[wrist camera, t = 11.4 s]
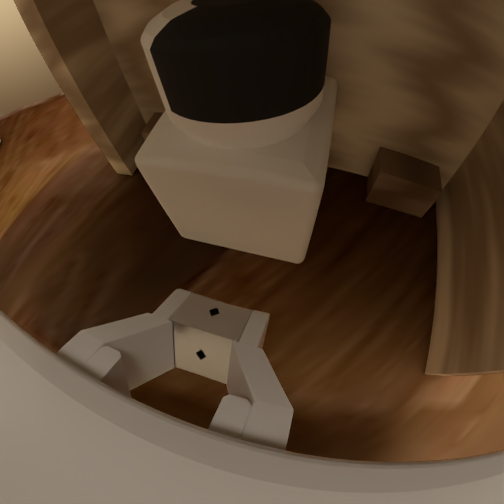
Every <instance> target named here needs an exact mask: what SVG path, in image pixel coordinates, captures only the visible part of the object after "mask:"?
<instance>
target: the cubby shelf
mask: <svg viewBox="0 0 504 504" xmlns="http://www.w3.org/2000/svg"><path fill="white" fill-rule="evenodd" d="M177 1H179V0H14V2H15V4H16V6H17V9H18V11H19V13H20V15H21V17H22V19H23V21H24V23H25V25H26V27H27V29H28V31H29V32H30V35H31V36H32V38H33V40H34V42H35V44H36V46H37V48H38V50H39V51H40V53H41V55H42V57H43V59H44V60H45V62H46V64H47V65H48V67H49V69H50V71H51V73H52V74H53V76H54V78H55V79H56V81H57V83H58V84H59V86H60V88H61V89H62V91H63V93H64V94H65V96H66V98H67V99H68V101H69V102H70V104H71V106H72V107H73V109H74V110H75V112H76V113H77V115H78V117H79V118H80V120H81V121H82V123H83V124H84V126H85V127H86V129H87V130H88V132H89V133H90V135H91V136H92V138H93V139H94V141H95V142H96V144H97V145H98V147H99V148H100V150H101V151H102V153H103V154H104V155H105V157H106V158H107V160H108V161H109V163H110V164H111V165H112V167H113V168H114V170H115V171H116V173H118V174H126V175H133V173H134V172H135V170H136V168H137V166H136V163H135V156H136V155H137V153H138V151H139V150H140V148H141V146H142V145H143V143H144V142H145V140H146V138H147V137H148V135H149V134H150V132H151V131H152V129H153V128H154V126H155V125H156V123H157V122H158V120H159V119H160V117H161V116H162V114H163V113H164V112H165V107H164V104H163V102H162V99H161V96H160V94H159V91H158V88H157V86H156V83H155V80H154V78H153V75H152V72H151V69H150V67H149V64H148V61H147V58H146V56H145V53H144V50H143V47H142V44H141V41H140V40H141V36H142V34H143V31H144V29H145V27H146V26H147V24H148V23H149V22H150V20H151V19H153V18H154V17H155V16H156V15H158V14H159V13H160V12H162V11H163V10H164V9H166V8H167V7H168V6H170V5H172V4H173V3H175V2H177ZM313 1H315V2H317V3H318V4H320V5H321V6H322V7H323V8H324V10H325V11H326V12H327V13H328V15H329V16H330V18H331V28H330V39H329V49H328V58H327V67H326V76H331V77H333V78H335V79H336V80H337V84H338V86H337V96H336V105H335V114H334V122H333V130H332V137H331V144H330V151H329V158H328V165H327V167H332V168H336V169H340V170H344V171H348V172H352V173H355V174H359V175H363V176H366V177H367V191H366V202H370V203H374V204H377V205H381V206H384V207H388V208H391V209H395V210H398V211H401V212H404V213H408V214H411V215H414V216H417V217H420V218H422V217H423V215H424V214H425V213H426V212H427V211H428V210H429V208H430V207H431V206H432V205H433V204H434V202H435V201H436V213H437V282H436V297H435V309H434V318H433V326H432V334H431V341H430V347H429V353H428V359H427V364H426V369H425V374H428V375H437V376H471V375H488V374H500V373H504V0H313Z"/></svg>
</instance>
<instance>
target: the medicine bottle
mask: <svg viewBox="0 0 504 504" xmlns="http://www.w3.org/2000/svg"><path fill="white" fill-rule="evenodd" d="M330 28H331V18H330V16H329V15H328V13H327V12H326V11H325V10H324V8H323V7H322V6H321V5H320V4H318V3H317V2H315V1H313V0H179V1H177V2H175V3H173V4H172V5H170V6H168V7H167V8H166V9H164V10H163V11H162V12H160V13H159V14H158V15H156V16H155V17H154V18H153V19H151V20H150V22H149V23H148V24H147V26H146V27H145V29H144V31H143V34H142V36H141V40H140V41H141V44H142V47H143V50H144V53H145V56H146V58H147V61H148V64H149V67H150V69H151V72H152V75H153V78H154V80H155V83H156V86H157V88H158V91H159V94H160V96H161V99H162V102H163V104H164V107H165V112H164V113H163V114H162V116H161V117H160V119H159V120H158V122H157V123H156V125H155V126H154V128H153V129H152V131H151V132H150V134H149V135H148V137H147V138H146V140H145V142H144V143H143V145H142V146H141V148H140V150H139V151H138V153H137V155H136V156H135V163H136V166H137V167H138V169H139V171H140V172H141V174H142V176H143V177H144V179H145V180H146V182H147V184H148V185H149V187H150V188H151V190H152V192H153V193H154V195H155V196H156V198H157V199H158V201H159V203H160V204H161V206H162V207H163V209H164V210H165V212H166V213H167V215H168V216H169V218H170V220H171V221H172V223H173V224H174V226H175V227H176V229H177V230H178V232H179V233H180V235H181V236H182V237H184V238H187V239H191V240H196V241H200V242H204V243H209V244H213V245H218V246H222V247H226V248H231V249H235V250H239V251H244V252H248V253H252V254H257V255H261V256H266V257H270V258H274V259H279V260H283V261H287V262H292V263H296V264H298V263H301V262H303V261H304V259H305V256H306V252H307V249H308V245H309V242H310V238H311V235H312V231H313V227H314V224H315V220H316V216H317V212H318V209H319V205H320V201H321V197H322V193H323V189H324V184H325V178H326V171H327V165H328V158H329V151H330V144H331V137H332V130H333V122H334V114H335V105H336V96H337V86H338V84H337V80H336V79H335V78H333V77H331V76H326V67H327V58H328V49H329V39H330Z"/></svg>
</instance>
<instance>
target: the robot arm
mask: <svg viewBox="0 0 504 504" xmlns="http://www.w3.org/2000/svg"><path fill="white" fill-rule="evenodd" d="M0 143H1V139H0ZM269 318H270V314H269V313H266V312H261V311H257V310H251V309H247V308H243V307H239V306H235V305H232V304H228V303H224V302H222V301H218V300H215V299H212V298H209V297H206V296H202V295H199V294H196V293H192V292H190V291H186V290H183V289H180V288H179V289H176V290H175V291H174V292H173V293H172V294H171V295H170V296H169V297H168V298H167V299H166V300H165V301H164V302H163V303H162V304H161V305H160V306H159V307H158V308H157V309H156V310H155V311H154V313H153V314H151V313H145V314H141V315H137V316H134V317H130V318H126V319H123V320H119V321H115V322H111V323H107V324H104V325H100V326H96V327H92V328H88V329H84V330H81V331H80V332H79V333H77V334H76V335H75V336H74V337H73V338H72V339H71V340H70V341H68V342H67V343H66V344H65V345H64V346H63V347H62V348H61V349H60V350H59V351H57V352H56V353H54V352H53V351H52V350H50V349H49V348H47V347H46V346H45V345H43V344H42V343H41V342H39V341H38V340H37V339H35V338H34V337H33V336H31V335H30V334H29V333H27V332H26V331H25V330H24V329H22V328H21V327H20V326H19V325H18V324H16V323H15V322H14V321H13V320H12V319H10V318H9V317H8V316H7V315H6V314H5V313H4V312H2V311H1V310H0V504H504V450H501V451H496V452H491V453H487V454H481V455H475V456H469V457H462V458H454V459H445V460H433V461H415V462H379V461H360V460H347V459H338V458H329V457H321V456H314V455H308V454H302V453H296V452H291V451H286V445H287V441H288V436H289V431H290V427H291V422H292V417H293V412H294V409H293V407H292V405H291V404H290V402H289V400H288V398H287V396H286V394H285V392H284V390H283V388H282V386H281V384H280V382H279V380H278V378H277V376H276V374H275V372H274V370H273V368H272V366H271V364H270V362H269V360H268V358H267V356H266V354H265V352H264V350H263V349H262V347H263V344H264V339H265V335H266V331H267V327H268V322H269ZM174 366H175V367H178V368H181V369H184V370H186V371H189V372H193V373H196V374H199V375H202V376H204V377H207V378H210V379H213V380H215V381H218V382H221V383H224V384H226V387H227V391H228V395H227V396H224V397H223V398H222V400H221V403H220V405H219V407H218V409H217V411H216V413H215V415H214V417H213V419H212V422H211V424H210V426H209V428H208V429H205V428H202V427H199V426H196V425H194V424H191V423H188V422H186V421H183V420H180V419H178V418H175V417H173V416H170V415H168V414H166V413H163V412H161V411H159V410H156V409H154V408H152V407H150V406H147V405H145V404H143V403H141V402H139V401H137V400H135V399H133V398H132V397H131V393H130V390H132V389H134V388H136V387H138V386H140V385H142V384H144V383H146V382H148V381H150V380H152V379H154V378H156V377H158V376H160V375H162V374H164V373H165V372H167V371H169V370H171V369H173V368H174Z"/></svg>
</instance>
